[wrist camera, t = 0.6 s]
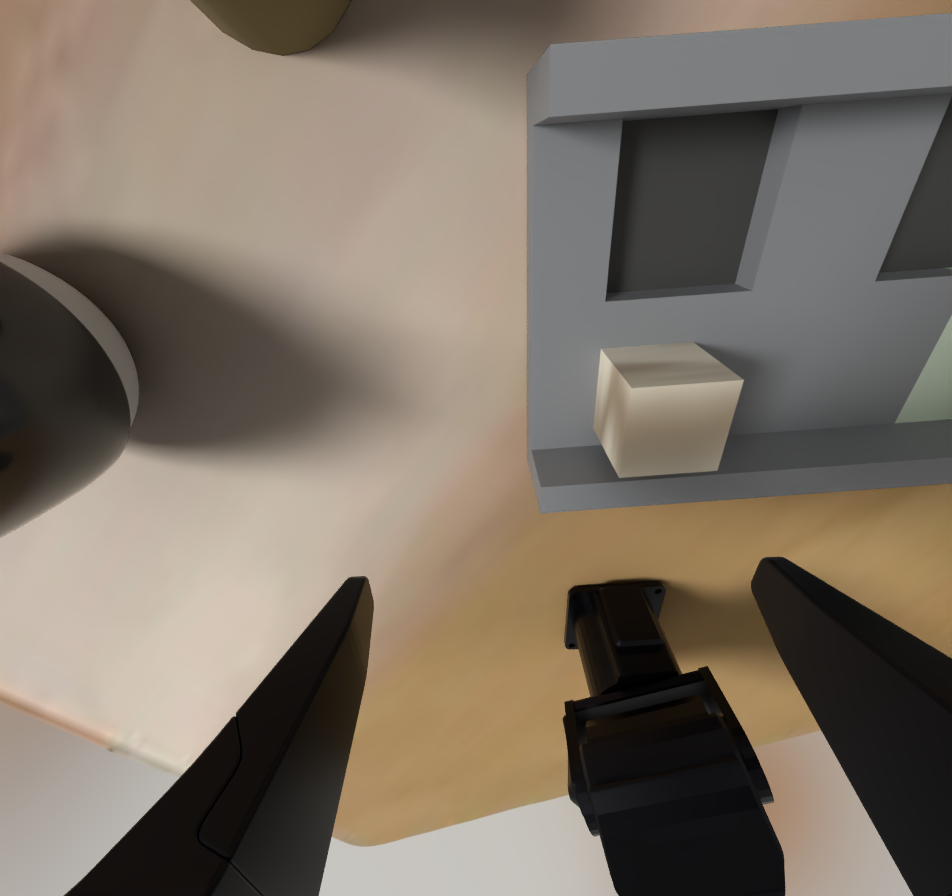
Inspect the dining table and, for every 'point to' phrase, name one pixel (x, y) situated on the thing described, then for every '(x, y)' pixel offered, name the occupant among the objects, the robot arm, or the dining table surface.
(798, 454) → the box
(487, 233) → the dining table surface
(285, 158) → the dining table surface
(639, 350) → the birch block
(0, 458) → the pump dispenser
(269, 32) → the cork
